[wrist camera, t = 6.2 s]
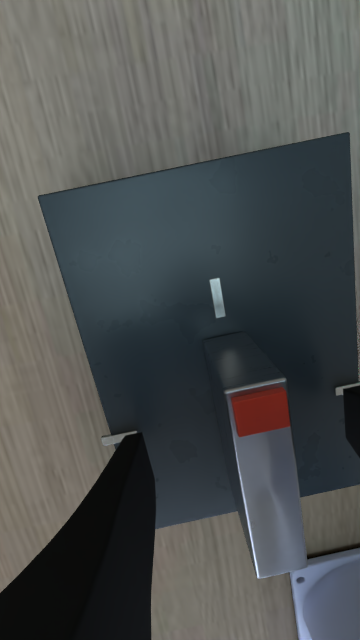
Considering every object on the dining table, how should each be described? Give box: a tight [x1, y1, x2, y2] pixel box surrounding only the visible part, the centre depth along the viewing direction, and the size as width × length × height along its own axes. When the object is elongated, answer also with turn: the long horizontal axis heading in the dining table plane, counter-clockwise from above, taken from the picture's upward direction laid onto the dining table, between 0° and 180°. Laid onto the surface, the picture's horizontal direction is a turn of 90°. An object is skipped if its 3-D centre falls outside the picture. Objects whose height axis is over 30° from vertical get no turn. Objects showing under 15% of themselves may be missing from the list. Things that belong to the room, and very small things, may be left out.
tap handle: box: [203, 332, 308, 579], centre depth 10 cm, size 6×2×4 cm, turn 11°
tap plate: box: [38, 132, 360, 529], centre depth 13 cm, size 14×11×3 cm
